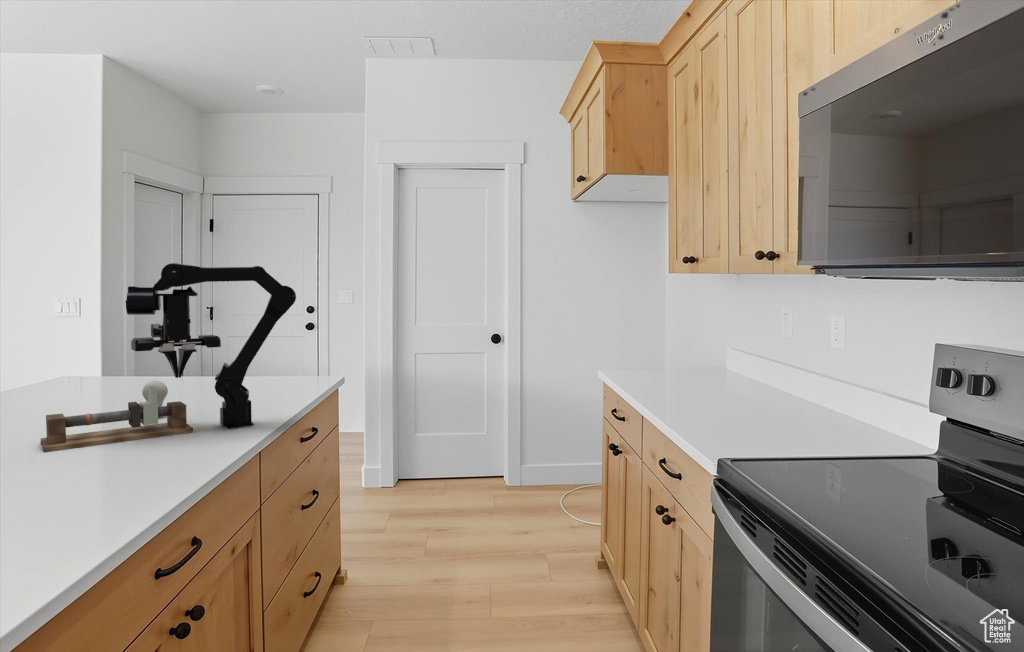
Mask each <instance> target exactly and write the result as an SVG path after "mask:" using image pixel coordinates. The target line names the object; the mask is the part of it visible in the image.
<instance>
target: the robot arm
mask: <svg viewBox="0 0 1024 652" xmlns="http://www.w3.org/2000/svg"><path fill="white" fill-rule="evenodd" d="M160 276H161V277H160V278H159V279H158V280H157V282H156V283H154V286H153V287H147V286H146V287H144V286H143V287H140V286H135V285H134V286H127V293H126V299H125V311H126V314H127V315H128V316H129V315H130V316H132V315H133V316H135V315H138V316H139V315H141V316H142V315H145V316H147V315H149V316H150V315H152V316H155V315H156V311H161V305H162V315H163V316H162V317H163V318H162V325H161V324H160V323H151V325H150V336H149V337H134V338H132V339H131V340H130V348H131V350H132V351H134V352H147V351H149V352H150V351H152V350H154V349H155V348H158V349H157V351H158V353H160V354H162V355H163V354H164V356H165V357H166V359H167V361H168V363H169V366H170V367H171V371H172V373H173V376H174V378H175V379H179V378H182V375H183V374H184V371H185V369H186V365H187V363H188V361H189V359H190V357H191V355H193V353H196V352H197V349H196V346H201V347H204V346H205V347H206V348H210V349H211V348H221V347H222V344H221V343H222V342H221V338H220V336H219V335H214V334H202V335H198V337H196V338H192V337H191V318H190V317H191V314H190V313H191V311H190V309H191V307H190V297H197V296H199V293H198V292H197V291H195V290H194V288H193V287H192V286H191V285H196V284H202V283H206V282H213V283H214V282H215V283H217V282H255V283H257V284H258V285H259V286H260V287H261V288H263V289H264V290H265V291H266V292H267V293H268V294H270V296H269V300H268V302H267V303H266V304H267V305H266V308H265V309H264V313H263V315H262V316H261V318H260V320H259V321H258V322H257V324H256V326H255V327H254V329H253V330H252V332H251V334H249V337H248V339H246V341H245V342H244V345H243V347H242V348H241V349H240V351H239V353H238V354H237V356H236V357H235V358H234V360H233V361H232V362H231V363H230V364H228V363H226V362H224V363H223V365H222V368H221V370H220V371H219V373H217V374H216V375H215V376H214V377H215V378H214V380H215V383H214V390H215V393H216V394H217V395H218V396H219V397H221V398H223V400H224V401H222V402H221V403H222V405H221V407H220V409H219V422H220V424H219V425H221V426H223V427H224V428H226V429H235V428H243V427H248V426H254V425H255V423H254V422H253V421H252V400H251V399H249V398H250V390H249V389H248V388H246V386H244V385H243V382H244V380H245V377H246V374H247V371H248V369H249V367H250V366H251V364H252V361H253V360H254V359H255V357H256V355H257V354H258V352H259V351H260V349H261V347H262V346H263V344H264V343H265V341H266V340H267V338H268V336H269V335H270V333H271V332H272V330H273V329H274V327H275V326H276V324H277V322H278V321H279V320H280V319H281V318H282V317H283V316H284V315H285V314H286V313H287V311H289V310H290V308H292V306H293V305H294V304H295V302H296V300H297V295H296V292H295V290H294V289H293V288H292V287H291V286H287V285H282V284H281V283H280V282H279V281H278V280H276V279H275V278H274V277H273V276H272V275H271V274H269V273H268V272H267V271H266V270H265V268H264V267H263V266H259V265H254V266H225V267H224V266H223V267H221V266H218V267H214V266H213V267H211V266H210V267H209V266H208V267H205V266H199V265H198V266H197V265H191V264H184V263H183V264H182V263H177V262H176V263H175V262H172V263H168V264H166V265H165V266H163V268H162V269H161V272H160ZM189 285H190V286H189ZM186 286H188V287H187V288H186V289H181V288H180V289H178V288H177V287H186ZM173 287H174V288H175V289H172V292H171V293H159V292H160V291H162V292H165V291H168V290H169V289H171V288H173ZM176 288H177V289H176ZM161 297H162V298H161ZM161 299H162V301H161ZM161 302H162V303H161ZM156 338H159V339H156ZM176 347H178V348H177V349H178V354H177V350H175V348H176ZM179 347H180V348H179ZM177 355H178V356H177Z"/></svg>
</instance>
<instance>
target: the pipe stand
mask: <svg viewBox="0 0 1024 652" xmlns="http://www.w3.org/2000/svg"><path fill="white" fill-rule="evenodd" d="M159 417H161V418H162V417H166V418H167V419H166V421H167V422H163V423H161V422H160V423H158V424H151V425H141V427H135V428H133V427H132V426H130V427H122V428H114V429H107V430H97V431H88V432H82V433H72V434H67V429H66V428H72V427H73V428H75V427H82V426H92V425H100V424H108V423H115V422H116V423H117V422H125V421H129V420H132V410H128V409H126V410H118V411H117V410H116V411H109V412H108V411H107V412H97V413H85V414H79V415H71V416H65V415H64V414H63V413H54V414H46V415H45V424H46V437H42V438H41V437H40V445H41V447H42V450H43V452H44V453H48V452H56V451H62V450H69V449H76V448H77V449H78V448H85V447H93V446H101V445H107V444H115V443H116V444H117V443H121V442H122V443H123V442H130V441H137V440H144V439H145V440H146V439H151V438H160V437H167V436H174V435H181V434H183V435H184V434H189V433H194V427H193V426H191V425H190V424H189V423H187V421H188V420H187V417H188V416H187V404H185V403H184V402H183V401H180V400H179V401H170V402H166V405H164V406H163V405H162V407H158V418H159ZM140 419H143V409H140Z"/></svg>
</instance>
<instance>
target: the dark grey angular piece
mask: <svg viewBox="0 0 1024 652" xmlns="http://www.w3.org/2000/svg"><path fill="white" fill-rule="evenodd" d="M127 407H128V408H127V410H132V420H128V425H129V426H130V427H133V428H135V427H141V426H142V423H141V419H140V405H139V403H138V401H128V402H127Z"/></svg>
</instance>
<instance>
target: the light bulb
mask: <svg viewBox="0 0 1024 652" xmlns="http://www.w3.org/2000/svg"><path fill="white" fill-rule="evenodd" d="M148 385H154V386H156V387H157V404H158V407H162V406H163V404H164V400H165V399H166V398H167V396H168V387H167V385H166V384H165V382H163V381H160V380H157V379H156V380H151V381H148V382H147V383H145V384H144V386H143V388H142V393H141V394H142V397H143V398H144V400H145V402H147V401H148Z"/></svg>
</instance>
